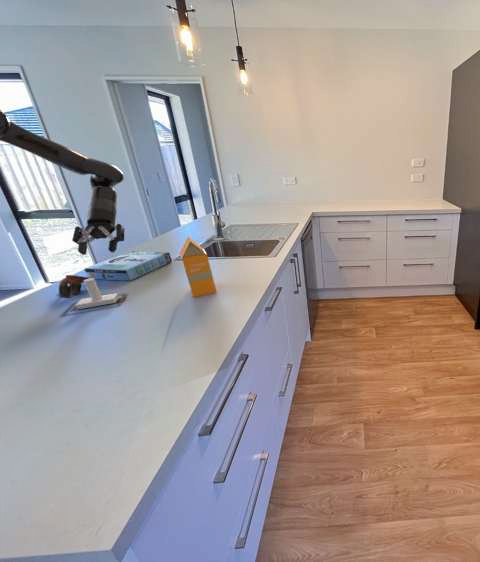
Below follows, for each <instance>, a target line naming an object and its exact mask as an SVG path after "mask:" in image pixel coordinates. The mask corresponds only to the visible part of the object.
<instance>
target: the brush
mask: <svg viewBox="0 0 480 562" xmlns="http://www.w3.org/2000/svg"><path fill="white" fill-rule="evenodd" d="M84 286H85V287H86V289H87V292H88V294H89V296H90V297H85V298H80V300H79V301H78V302H77V303H76V304H75V305H74V307H75V306H76V308H77V310H79V311H84V310H89V309H95V308H100V307H107V306H112V305H117V303H118V301H119V298H120V295H119V293H118V292H115V293H110V294H104V295H103V294H101V292H100V289H99V286H98V284H97V282H96V279H94V278H90V279H86V280H84ZM118 304H119V303H118Z"/></svg>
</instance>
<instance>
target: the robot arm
mask: <svg viewBox="0 0 480 562" xmlns="http://www.w3.org/2000/svg"><path fill="white" fill-rule="evenodd" d="M0 142H4V143H6V144H9V145H11V146H14V147H16V148H19V149H21V150H24V151H26V152H28V153H31V154H32V155H35V156H37V157H39V158H41V159H43V160H45V161H46V162H49V163H52V164H54V165H56V166H58V167H60V168H63V169H65V170H67V171H69V172H72V173H74V174H76V175H79V176H87V175H90V177H89V183H90V188H91V191H92V192H91V197H90V202H89V204H88V211H87V216H86V226H85V227H80V226H76V227H75V228H74V231H73V235H72V238H71V240H72V242H73V243H75V244H76V245H78V249H77V251H78V253H79V254H80V255H82V256H86V255H87V251H88V245H89V244H90V243H92V242H94V241H95V240H100V239H107V238H108V239H109V241H108V248H107V249H108V251H109V252H110V253H115V252H116V251H117V247H118V243H119V242H124V241H125V227H124V226H123V225H122V224H121V223H117V224H116V218H117V204H118V203H117V201H118V194H117V191H116V190H115V189H114V187H115V186H117V185H119V184H121V183H122V182H123V181H124V178H125V176H124V174H123V172H122V171H121V170H120V169H119V168H118V167H117V166H115V165H113V164H111V163H108V162H105V161H102V160H98V159H95V158H92V157H87V156H85V155H84V154H81V153H79V152H77V151H76V150H74V149H71V148H69V147H68V146H65V145H63V144H60V143H58V142H56V141H53V140H51V139H48V138H46V137H44V136H42V135H40V134H36V133H34V132H32V131H30V130H28V129H26V128H23V127H22V126H20V125H19V124H16V123H14V122H12V121H11V120H10V119H9V117H8V115H7V114H6V113H5V112H4V111H3V110H2V109H0ZM114 232H115V233H116V235H115V236H114V234H113V233H114Z"/></svg>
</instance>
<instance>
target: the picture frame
mask: <svg viewBox="0 0 480 562" xmlns="http://www.w3.org/2000/svg"><path fill="white" fill-rule="evenodd" d="M126 299H127V296H122V297H119V301H118V303H117V304H123V303H124V302H125V301H126ZM117 304H116V305H117ZM78 311H80V310H77V308H76V306H75V305H74V307H73V308H72V309H71V310H70V311H69V313H73V312H78Z"/></svg>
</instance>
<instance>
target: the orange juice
mask: <svg viewBox="0 0 480 562" xmlns="http://www.w3.org/2000/svg"><path fill="white" fill-rule="evenodd" d="M179 255H180V258H181V260H182V265H183V268H184V271H185V274H186V277H187V280H188V281H187V282H188V284H189V287H190V291H191V295H192V297H193V298H197V297H201V296H206V295H210V294H214V293H217V288H216V285H215V280H214V277H213V272H212V269H211V265H210V261H209V257H208V253H207V251H206V250H205V248H204V247H202V246H201V245H200V244H198V243H197V242H196V241H195V240H193V239H192V238H191V237H190V236H189V235H188V236H187V237H186V239H185V241H184V244H183V246H182V247H181V250H180V252H179Z"/></svg>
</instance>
